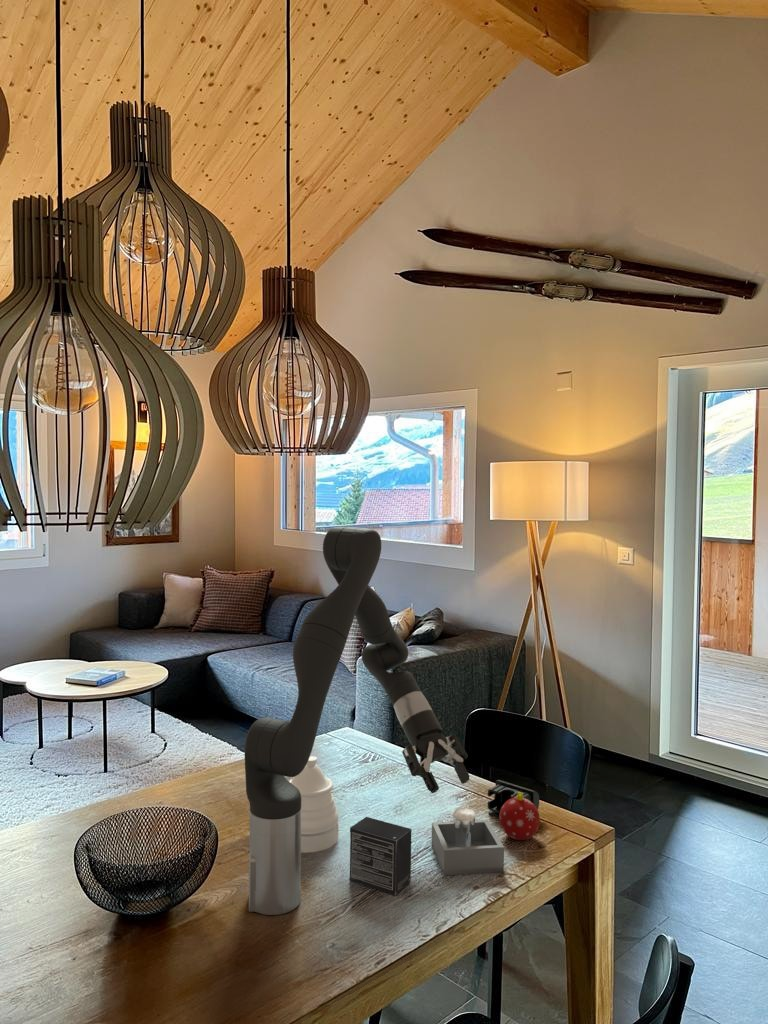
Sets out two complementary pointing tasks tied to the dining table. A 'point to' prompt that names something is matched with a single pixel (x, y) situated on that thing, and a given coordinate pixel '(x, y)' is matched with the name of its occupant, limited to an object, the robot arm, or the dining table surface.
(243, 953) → the dining table surface
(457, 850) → the bin
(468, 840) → the milkshake
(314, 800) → the honey pot
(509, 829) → the christmas ornament
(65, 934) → the dining table surface
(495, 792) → the end cap
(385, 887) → the small box
